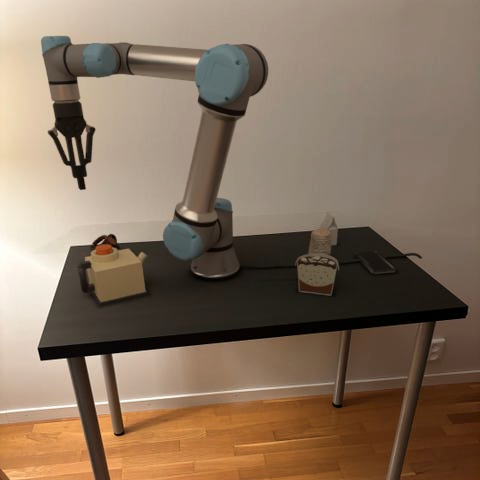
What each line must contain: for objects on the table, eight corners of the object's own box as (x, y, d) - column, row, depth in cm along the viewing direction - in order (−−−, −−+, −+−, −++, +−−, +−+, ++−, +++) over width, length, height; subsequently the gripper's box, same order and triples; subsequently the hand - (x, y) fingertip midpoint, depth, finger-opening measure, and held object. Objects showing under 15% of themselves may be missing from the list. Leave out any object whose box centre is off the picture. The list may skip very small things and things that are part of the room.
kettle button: (109, 248, 143) (109, 243, 142) (114, 253, 140) (113, 248, 139) (94, 251, 141) (93, 246, 140) (98, 257, 138) (97, 251, 137)
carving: (321, 273, 153) (323, 236, 147) (303, 266, 158) (304, 230, 152) (334, 267, 157) (337, 231, 151) (316, 261, 162) (318, 225, 156)
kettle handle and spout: (143, 276, 154) (139, 242, 149) (158, 292, 144) (154, 257, 138) (78, 291, 146) (71, 256, 140) (89, 309, 136) (82, 272, 130)
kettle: (132, 279, 152) (127, 242, 146) (146, 294, 143) (141, 255, 137) (90, 288, 147) (83, 251, 141) (101, 305, 138) (94, 265, 132)
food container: (340, 287, 145) (343, 255, 140) (336, 296, 140) (339, 263, 135) (298, 282, 148) (300, 250, 143) (294, 290, 143) (295, 258, 138)
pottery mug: (121, 262, 165) (105, 244, 160) (99, 272, 169) (83, 254, 164) (129, 241, 174) (114, 223, 169) (108, 251, 177) (93, 233, 173)
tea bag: (326, 245, 174) (328, 218, 169) (320, 239, 179) (321, 212, 174) (336, 244, 174) (338, 217, 169) (329, 238, 180) (331, 211, 175)
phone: (377, 251, 165) (397, 268, 152) (376, 254, 166) (396, 272, 153) (354, 253, 164) (372, 271, 151) (354, 256, 165) (372, 274, 152)
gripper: (87, 98, 140) (101, 183, 151) (39, 102, 134) (56, 189, 146) (94, 100, 134) (107, 188, 145) (43, 104, 128) (62, 194, 140)
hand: (82, 188), depth 145 cm, fingers closed
